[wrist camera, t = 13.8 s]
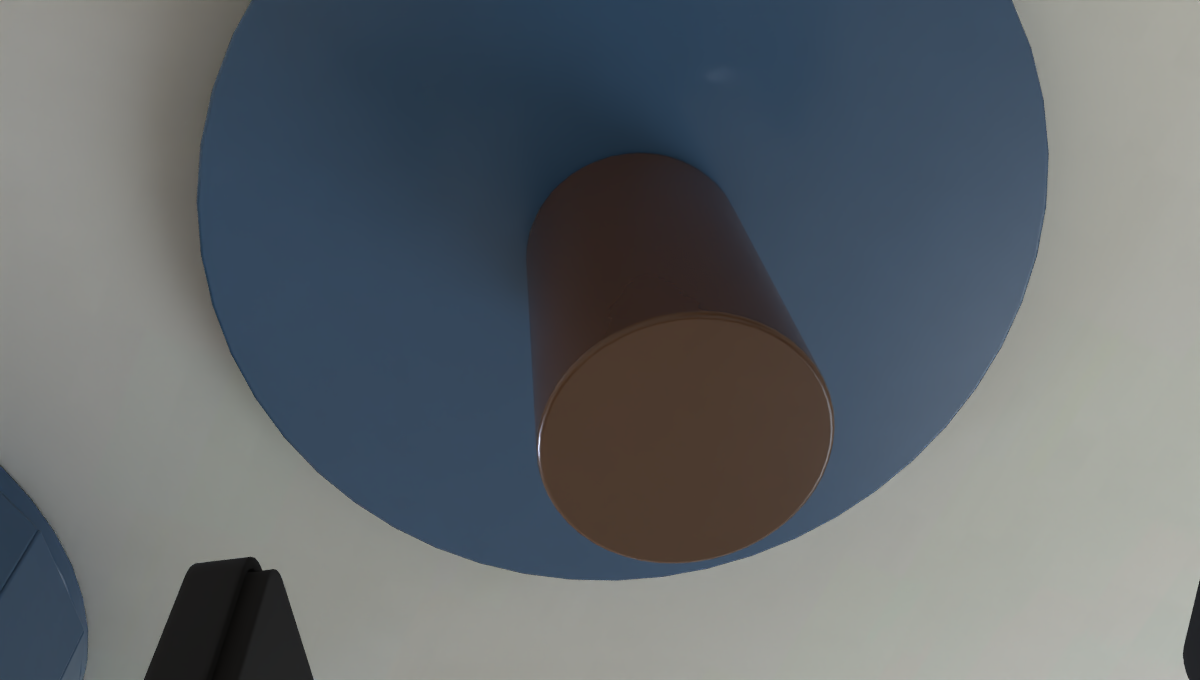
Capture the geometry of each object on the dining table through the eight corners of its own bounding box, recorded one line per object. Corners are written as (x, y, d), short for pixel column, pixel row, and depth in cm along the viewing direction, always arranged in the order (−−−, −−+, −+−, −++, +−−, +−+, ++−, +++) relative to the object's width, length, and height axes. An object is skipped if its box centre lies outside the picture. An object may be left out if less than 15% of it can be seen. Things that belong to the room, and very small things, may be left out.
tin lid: (316, 585, 23) (247, 895, 17) (97, -167, 16) (-169, -124, 10) (986, 498, 23) (1167, 768, 17) (1064, -272, 16) (1422, -297, 10)
